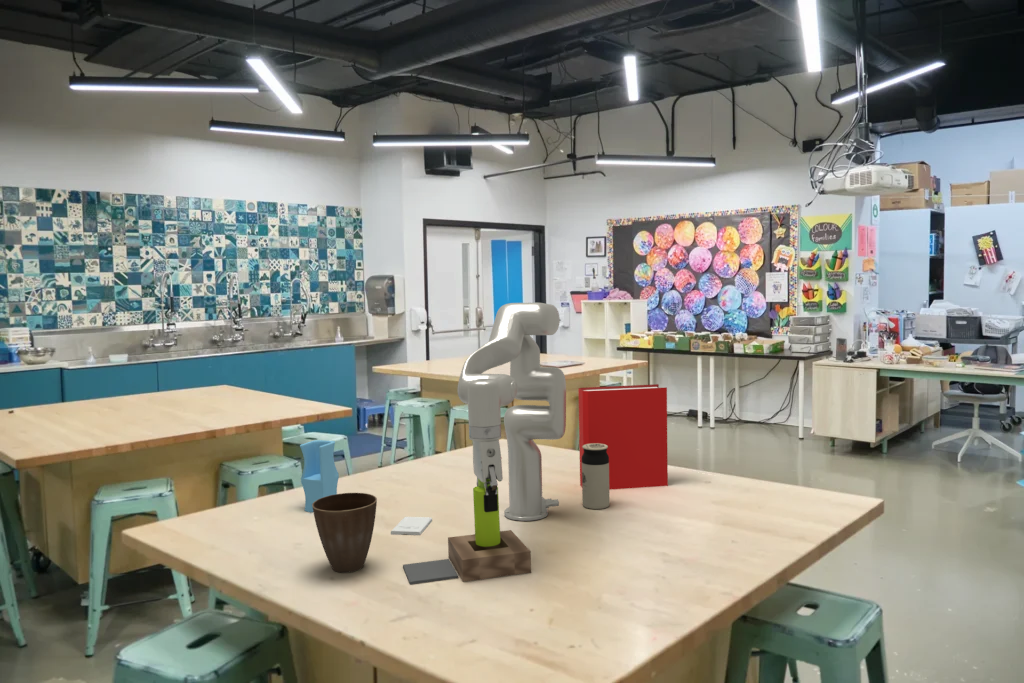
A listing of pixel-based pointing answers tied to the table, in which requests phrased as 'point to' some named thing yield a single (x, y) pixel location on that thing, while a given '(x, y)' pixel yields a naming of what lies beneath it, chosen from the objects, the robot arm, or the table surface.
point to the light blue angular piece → (318, 471)
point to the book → (627, 432)
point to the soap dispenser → (485, 519)
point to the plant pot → (345, 528)
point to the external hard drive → (411, 526)
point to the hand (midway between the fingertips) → (487, 506)
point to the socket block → (489, 557)
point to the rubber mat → (429, 571)
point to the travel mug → (595, 476)
